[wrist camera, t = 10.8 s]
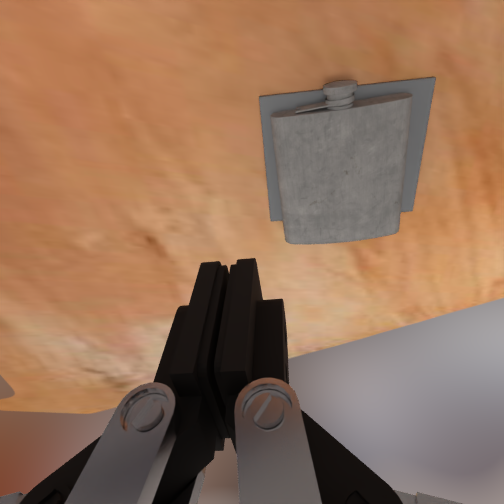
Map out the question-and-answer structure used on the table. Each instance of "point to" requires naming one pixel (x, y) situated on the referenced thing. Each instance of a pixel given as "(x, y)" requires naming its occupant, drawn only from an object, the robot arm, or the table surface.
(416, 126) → the mat
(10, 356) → the table surface
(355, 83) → the hip flask
